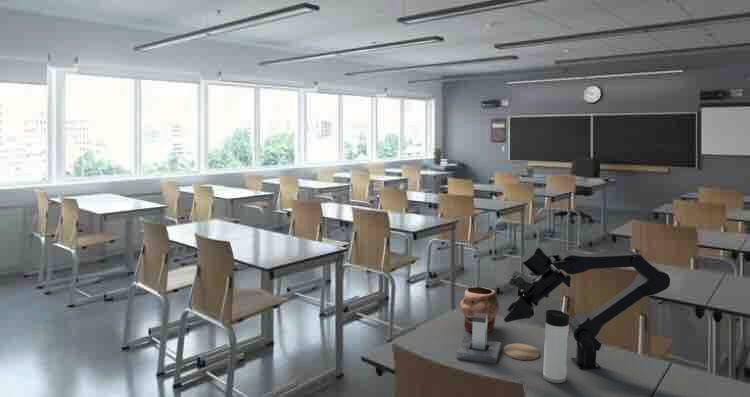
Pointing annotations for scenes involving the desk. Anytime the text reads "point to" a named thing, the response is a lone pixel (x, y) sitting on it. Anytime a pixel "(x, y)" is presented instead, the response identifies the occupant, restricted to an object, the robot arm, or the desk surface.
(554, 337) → the travel mug
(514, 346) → the walnut coaster
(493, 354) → the grey flat square frame
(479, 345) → the grey square bar
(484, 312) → the decorative planter
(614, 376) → the desk surface
